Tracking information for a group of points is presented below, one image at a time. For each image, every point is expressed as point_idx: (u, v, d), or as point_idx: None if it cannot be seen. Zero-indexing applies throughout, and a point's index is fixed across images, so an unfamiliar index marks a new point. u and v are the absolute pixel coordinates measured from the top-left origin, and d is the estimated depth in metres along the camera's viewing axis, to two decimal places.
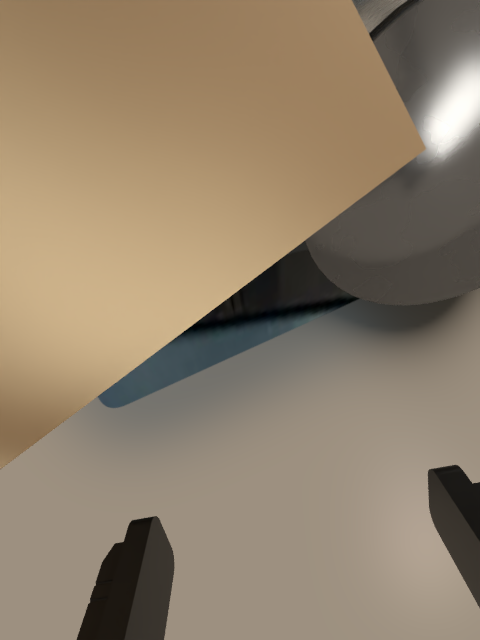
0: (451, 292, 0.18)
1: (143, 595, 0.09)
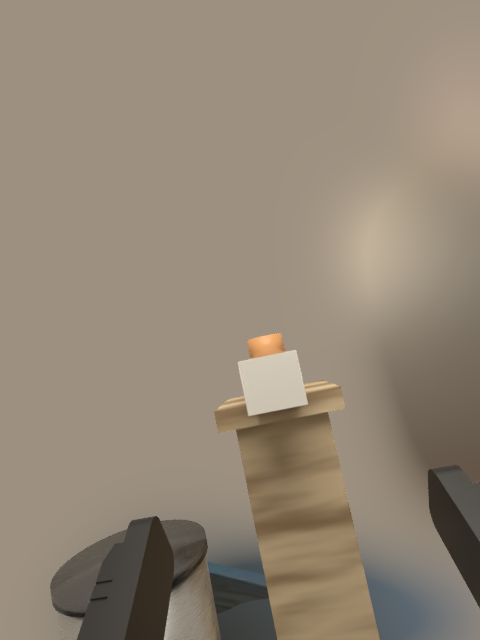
0: (85, 550, 0.34)
1: (143, 595, 0.09)
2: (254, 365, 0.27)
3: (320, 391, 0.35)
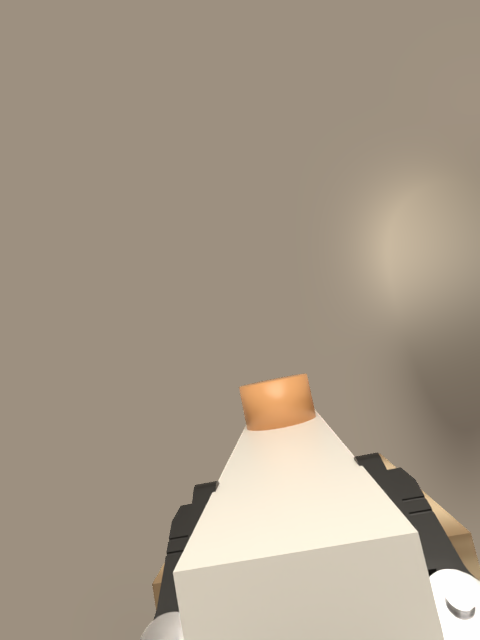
0: None
1: None
2: (240, 592, 0.07)
3: None
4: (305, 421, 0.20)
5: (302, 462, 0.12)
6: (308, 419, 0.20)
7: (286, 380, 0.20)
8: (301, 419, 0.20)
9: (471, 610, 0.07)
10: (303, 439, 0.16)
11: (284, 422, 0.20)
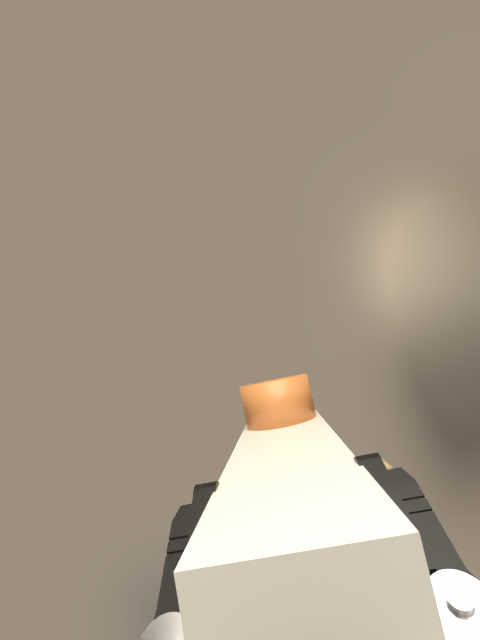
0: None
1: None
2: (241, 592, 0.07)
3: None
4: (305, 421, 0.20)
5: (302, 462, 0.12)
6: (308, 419, 0.20)
7: (286, 380, 0.20)
8: (301, 419, 0.20)
9: (471, 610, 0.07)
10: (303, 439, 0.16)
11: (284, 422, 0.19)
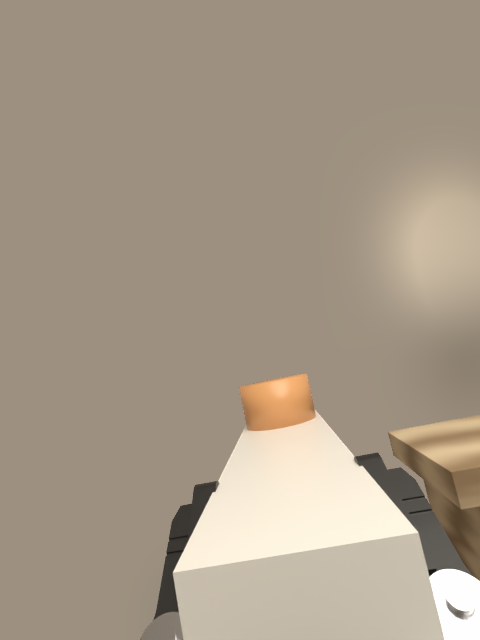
0: None
1: None
2: (240, 592, 0.07)
3: None
4: (305, 421, 0.20)
5: (302, 462, 0.12)
6: (308, 419, 0.20)
7: (286, 380, 0.20)
8: (301, 419, 0.20)
9: (471, 610, 0.07)
10: (303, 439, 0.16)
11: (284, 422, 0.19)
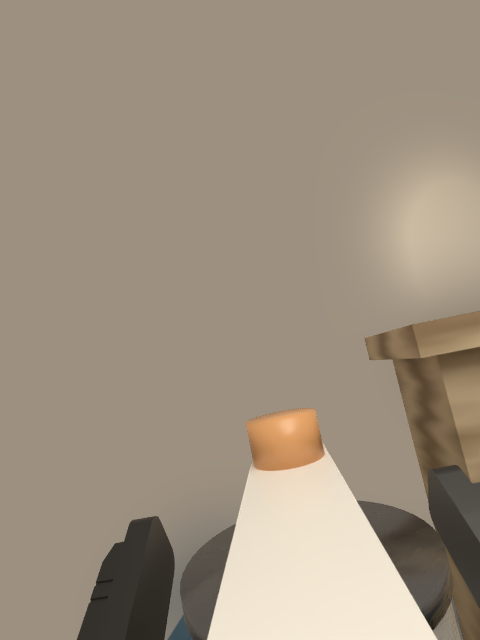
0: (209, 545, 0.21)
1: (143, 595, 0.09)
2: None
3: None
4: (314, 461, 0.19)
5: (317, 530, 0.12)
6: (317, 459, 0.20)
7: (295, 419, 0.19)
8: (310, 459, 0.19)
9: None
10: (314, 491, 0.15)
11: (293, 463, 0.19)
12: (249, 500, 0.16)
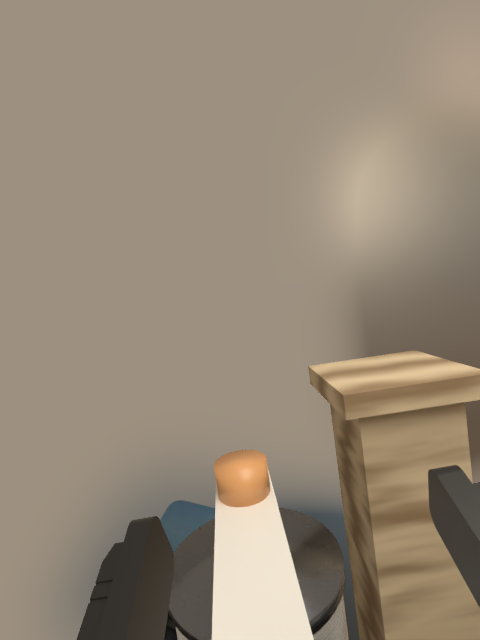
0: (181, 548, 0.29)
1: (143, 595, 0.09)
2: None
3: (468, 377, 0.29)
4: (263, 500, 0.27)
5: (266, 585, 0.19)
6: (265, 497, 0.27)
7: (251, 472, 0.26)
8: (260, 499, 0.27)
9: None
10: (264, 540, 0.23)
11: (248, 502, 0.26)
12: (219, 544, 0.23)
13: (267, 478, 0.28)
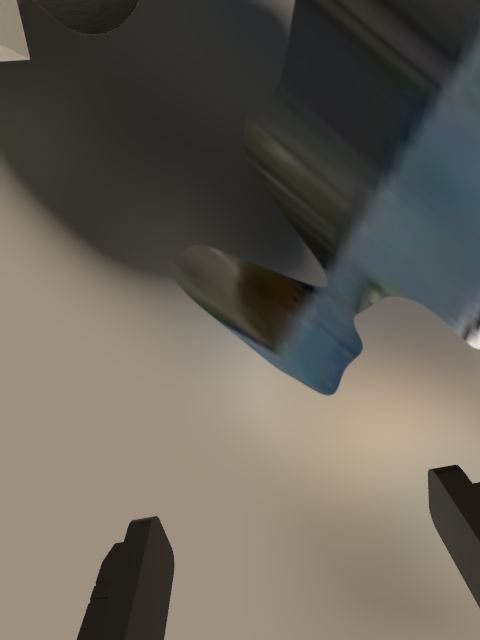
0: None
1: (143, 595, 0.09)
2: None
3: None
4: None
5: None
6: None
7: None
8: None
9: None
10: None
11: None
12: None
13: None
